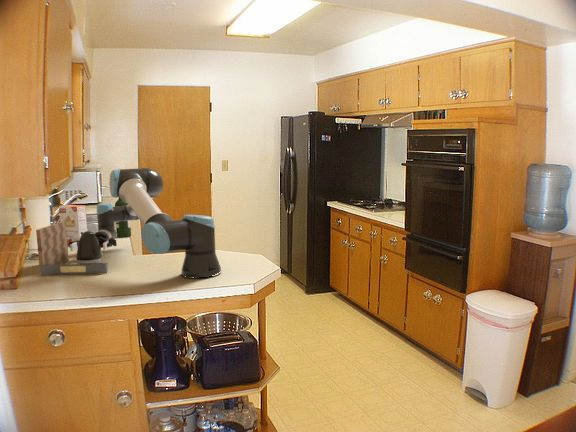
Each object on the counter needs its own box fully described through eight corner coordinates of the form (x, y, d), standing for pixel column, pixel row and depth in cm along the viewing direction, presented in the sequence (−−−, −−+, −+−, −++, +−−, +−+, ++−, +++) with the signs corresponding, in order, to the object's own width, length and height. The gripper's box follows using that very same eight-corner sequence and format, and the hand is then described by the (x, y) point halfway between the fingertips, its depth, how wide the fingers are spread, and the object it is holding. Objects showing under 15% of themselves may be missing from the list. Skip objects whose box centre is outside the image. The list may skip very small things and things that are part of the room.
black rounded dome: (94, 262, 224) (92, 228, 222) (107, 265, 217) (105, 230, 215) (72, 266, 216) (69, 231, 214) (85, 269, 210) (82, 233, 208)
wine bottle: (116, 236, 293) (112, 184, 289) (130, 235, 296) (126, 183, 292) (117, 238, 286) (114, 185, 282) (132, 237, 289) (128, 184, 285)
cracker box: (61, 244, 272) (58, 205, 269) (71, 242, 277) (67, 204, 274) (79, 246, 265) (76, 206, 263) (88, 243, 271) (85, 205, 268)
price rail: (105, 273, 202) (105, 263, 201) (40, 275, 202) (39, 265, 201) (107, 272, 204) (106, 262, 203) (43, 274, 204) (42, 264, 203)
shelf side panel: (43, 273, 205) (39, 229, 202) (40, 273, 205) (36, 230, 202) (68, 260, 229) (65, 221, 226) (65, 260, 229) (62, 221, 226)
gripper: (129, 245, 239) (118, 254, 218) (74, 247, 236) (58, 257, 216) (127, 229, 238) (116, 237, 217) (73, 232, 236) (56, 240, 215)
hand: (87, 247), depth 216 cm, fingers open, 13 cm apart
